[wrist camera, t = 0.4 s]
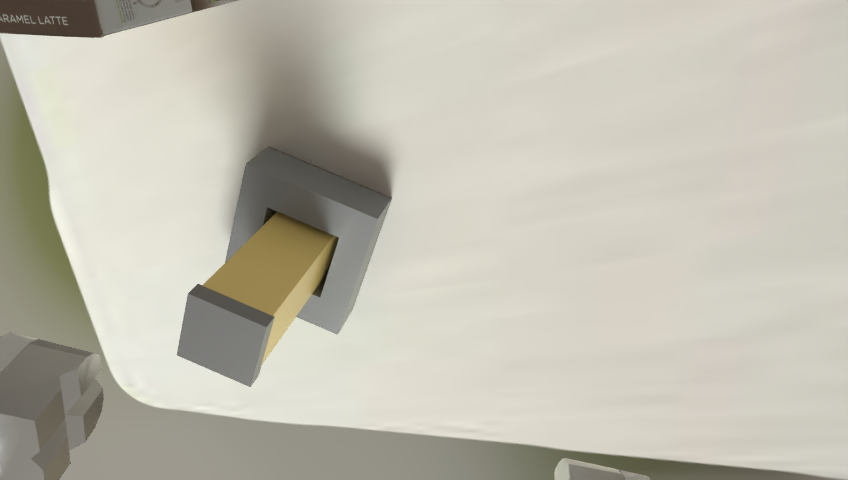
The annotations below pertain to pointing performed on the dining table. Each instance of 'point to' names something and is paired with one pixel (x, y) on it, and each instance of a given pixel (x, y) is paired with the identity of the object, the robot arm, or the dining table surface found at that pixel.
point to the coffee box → (90, 15)
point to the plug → (254, 298)
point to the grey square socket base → (314, 224)
